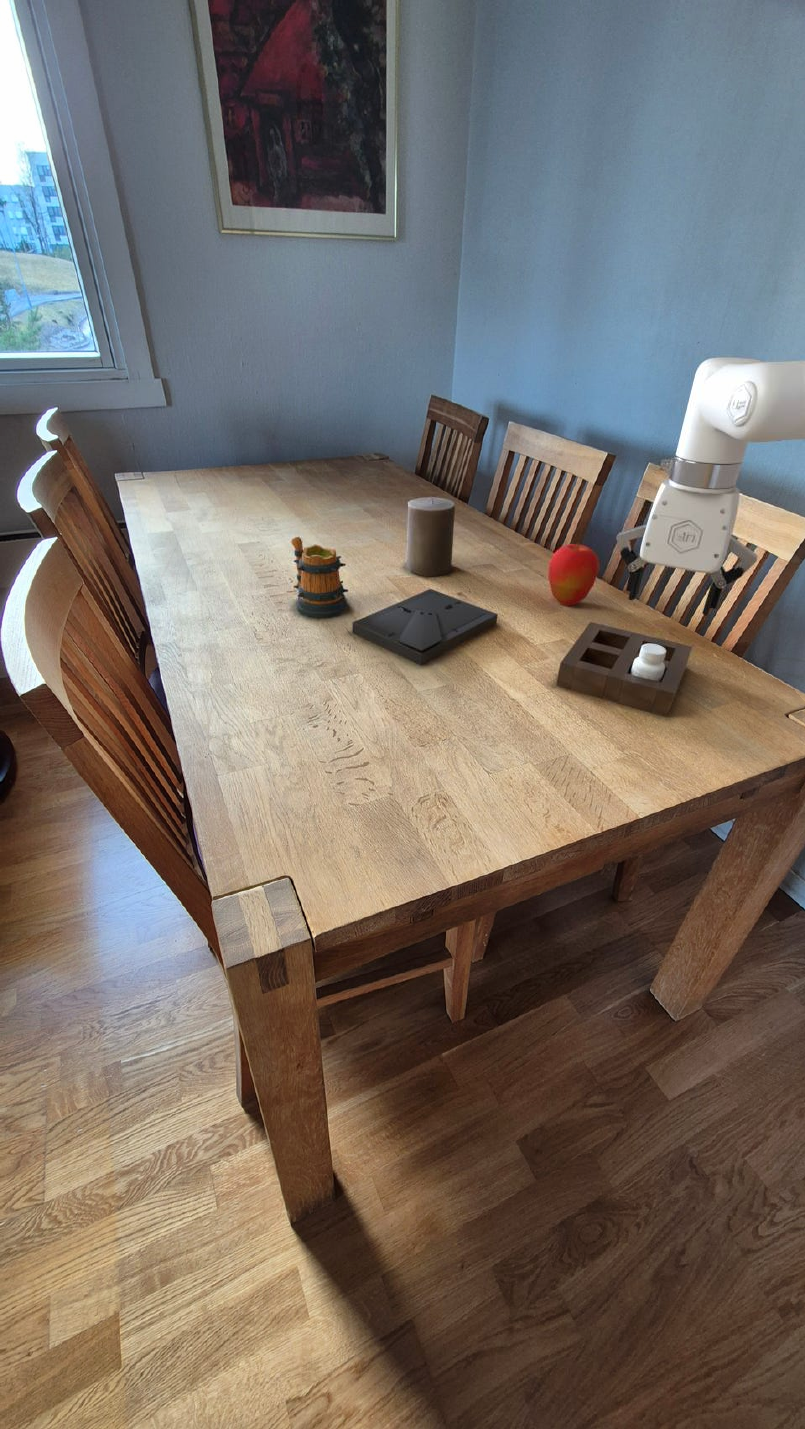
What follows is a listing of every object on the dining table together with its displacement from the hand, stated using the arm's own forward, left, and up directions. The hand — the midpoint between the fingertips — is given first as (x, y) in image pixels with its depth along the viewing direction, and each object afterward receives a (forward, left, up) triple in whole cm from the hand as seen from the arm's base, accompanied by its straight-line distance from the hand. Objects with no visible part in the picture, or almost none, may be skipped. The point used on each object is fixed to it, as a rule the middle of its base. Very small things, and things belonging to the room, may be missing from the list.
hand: (668, 604), depth 86 cm
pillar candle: (+51, -28, -15) cm, 60 cm away
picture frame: (+38, -2, -15) cm, 41 cm away
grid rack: (+4, -4, -15) cm, 16 cm away
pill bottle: (0, 0, -15) cm, 15 cm away
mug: (+60, 0, -15) cm, 62 cm away
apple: (+20, -27, -15) cm, 37 cm away
